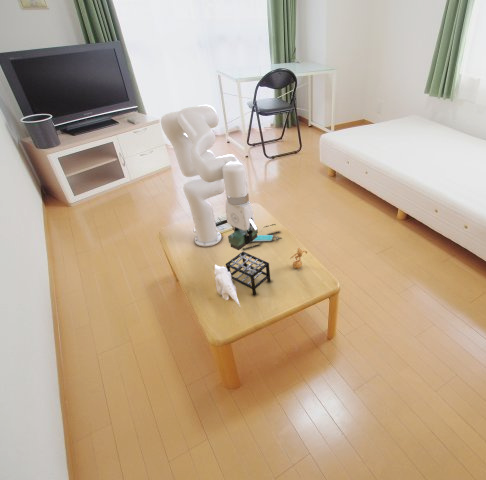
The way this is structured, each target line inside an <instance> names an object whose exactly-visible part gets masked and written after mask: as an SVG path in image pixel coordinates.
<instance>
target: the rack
mask: <svg viewBox="0 0 486 480" xmlns="http://www.w3.org/2000/svg"><path fill="white" fill-rule="evenodd" d="M247 257H248V258H247ZM241 261H242V262H241ZM240 262H241V263H240ZM248 262H249V264H248ZM236 265H237V267H236ZM253 265H256V266H255V267H254V266H253ZM225 267H226V268H227V269H228V272H231V278H232V281H235V282H237V283H239V284H241V285H243V286H244V287H247V288H249V289H251V293H252V296H254V297H255V296H256V295H257V288H258V287H260V286H261V284H263V283H264V282H265V281H267V283H271V282H272V281H271V271H270V270H271V269H270V262H268V261H265V260H263V259H262V258H260V257H257V256H254V255H252V254H250V253H248V252H245V251H241V252H240V253H239V254H237V255H236V256H234V257H233V258H232V259H230V260H229V261H228V262H226V263H225ZM231 269H232V270H233V271H231ZM263 270H265V271H263ZM236 273H240V274H239V275H237V277H235V276H234V275H235V274H236ZM244 275H245V277H244V278H243V279H240V278H241V277H242V276H244ZM262 275H264V277H263V278H262V279H261V280H259V282H257V283H256V282H255V280H256V279H257V278H258V277H260V276H262ZM247 279H250V280H249V281H248V282H245V281H246V280H247Z"/></svg>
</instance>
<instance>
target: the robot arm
mask: <svg viewBox="0 0 486 480" xmlns="http://www.w3.org/2000/svg"><path fill="white" fill-rule="evenodd" d="M160 125H161V128H162V129H161V130H162V131H163V133H164V135H165V136H166V138H167V139H168V141H169V142H170V144H171V146H172V148H173V151H174V153H175V154H174V155H175V157H176V160H177V163H178V166H179V169H180V172H181V173H182V175H183V176H184V177H186V178H193V177H197V176H199V177H197V178H194V179H191V180H188V181H187V182H185V184H183V189H182V190H183V193H184V196H185V198H186V201H187V203H188V206H189V209H190V212H191V217H192V221H193V224H194V225H193V226H194V229H193V230H192V232H193V233H195V237H194V243H195V244H196V245H197V246H199V247H212V246H214V245H215V246H216V244H218V243H219V242H221V240H222V234H221V232H219V231H218V228H217V223H216V219H215V214H214V208H213V206H212V204H211V203H210V202H209V201H208V200H207V199H210V198H212V197H216V196H219V195H221V194H224V192H225V196H226V200H225V217H226V223H227V224H228V225H229V226H231V228H232V231H233V233H234V232H235V231H237V230H238V229H241V230H244V231H245V234H246V235H245V242H246V244H247V245H249V243H253V242H252V241H253V239H252V233H253V232H255V231H257V230H258V226H257V225H256V222H255V214H254V210H253V207H252V203H251V201H250V196H249V187H248V179H247V171H246V166H245V165H244V164H243V163H242V162H240V161H239V158H237V157H236V156H235V155H234V154H225V155H222V156H217V157H216V155H215V153H214V152H213V151H211V150H210V149H212V147H213V146H214V144H215V143H216V140H217V139H216V133H214V131H213V130H212V129H214V128H217V126H218V125H219V115H218V112H217V111H216V109H215V108H214V107H213V106H211V105H209V104H202V105H196V106H195V105H194V106H189V107H185V108H181V110H178V111H177V110H176V111H173V112H168V113H166V114H164V115H162V116H161V119H160ZM256 226H257V227H256ZM248 229H249V231H248ZM258 231H259V230H258ZM247 245H246V246H247Z"/></svg>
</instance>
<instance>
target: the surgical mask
mask: <svg viewBox="0 0 486 480" xmlns="http://www.w3.org/2000/svg"><path fill="white" fill-rule="evenodd" d="M273 226H276V223H274V224H270V225H265V228H268V227H273ZM263 229H264V228H262V230H263ZM262 230H261V231H262ZM274 234H275V235H274ZM276 234H280V231H276V232H271V233H268V234H257V238H255V239H254V240H253V241H252V242H250V243H249V244H252V243H255V242H273V241H277V240H282V239H283V238H282V237H278V236H276ZM274 237H276V238H275V239H273V238H274ZM249 244H248V245H249ZM259 246H260V244H255V245H253V246H249V247H245V248H244V247H243V248H242V250H247V249H251V248H256V247H259Z"/></svg>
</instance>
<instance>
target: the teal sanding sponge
mask: <svg viewBox="0 0 486 480" xmlns="http://www.w3.org/2000/svg"><path fill="white" fill-rule="evenodd" d="M256 227H257V228H258V226H257V225H256ZM248 231H249V229H248ZM258 231H259V230H257V231H255V232H253V233H252V239H253V240H254V239H255V238H257V235H258V233H259V232H258ZM245 235H246V234H245V231H244V230H241V229H238V230H237V231H235V232H234V231H233V232H232V233H230V234H229V235H228V236H227V239H228V244H230V248H232V249H234V250H237V251H240V250H243V248H244V247H246V246H247V244H246V242H245Z"/></svg>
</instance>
